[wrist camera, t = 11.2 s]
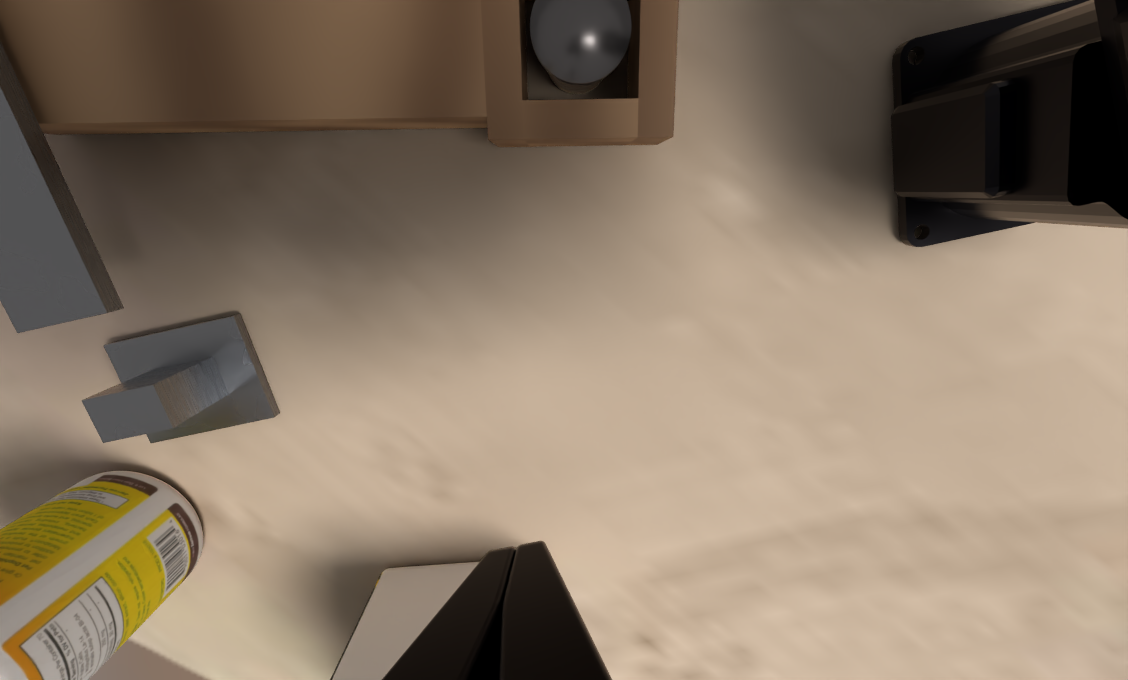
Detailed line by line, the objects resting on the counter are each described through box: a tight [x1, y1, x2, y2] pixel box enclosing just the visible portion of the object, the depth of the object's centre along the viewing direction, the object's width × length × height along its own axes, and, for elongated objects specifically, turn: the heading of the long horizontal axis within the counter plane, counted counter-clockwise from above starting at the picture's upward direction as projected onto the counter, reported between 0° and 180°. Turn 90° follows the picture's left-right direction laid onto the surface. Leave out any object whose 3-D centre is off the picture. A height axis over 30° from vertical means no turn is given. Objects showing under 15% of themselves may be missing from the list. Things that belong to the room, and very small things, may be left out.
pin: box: [530, 0, 631, 94], centre depth 15 cm, size 3×3×4 cm
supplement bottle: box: [0, 471, 203, 680], centre depth 17 cm, size 6×6×10 cm
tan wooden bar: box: [0, 0, 679, 147], centre depth 15 cm, size 20×5×3 cm, turn 91°
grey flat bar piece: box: [0, 41, 280, 443], centre depth 15 cm, size 5×21×4 cm, turn 12°
